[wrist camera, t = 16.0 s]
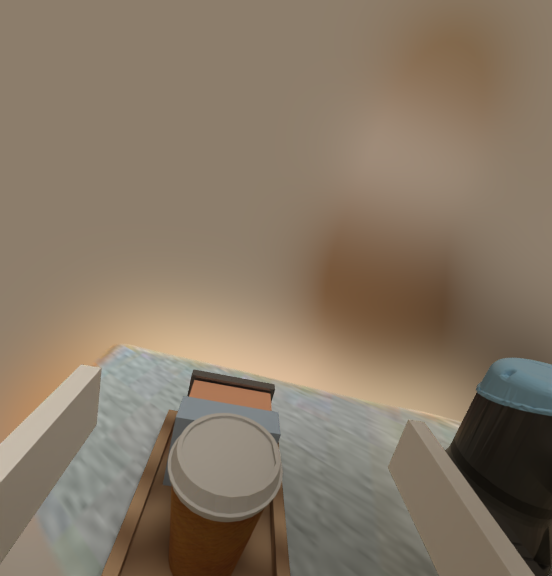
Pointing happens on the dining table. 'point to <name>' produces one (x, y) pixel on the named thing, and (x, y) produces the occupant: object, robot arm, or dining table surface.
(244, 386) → the bookend
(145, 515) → the wooden serving tray
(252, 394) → the books
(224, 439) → the disposable coffee cup
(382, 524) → the dining table surface
